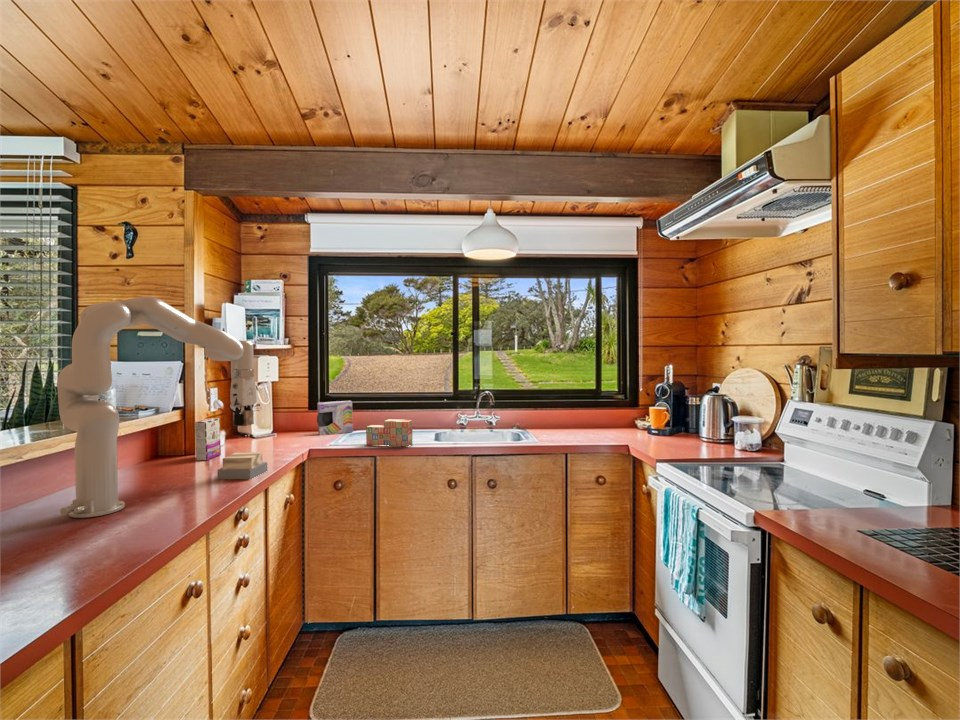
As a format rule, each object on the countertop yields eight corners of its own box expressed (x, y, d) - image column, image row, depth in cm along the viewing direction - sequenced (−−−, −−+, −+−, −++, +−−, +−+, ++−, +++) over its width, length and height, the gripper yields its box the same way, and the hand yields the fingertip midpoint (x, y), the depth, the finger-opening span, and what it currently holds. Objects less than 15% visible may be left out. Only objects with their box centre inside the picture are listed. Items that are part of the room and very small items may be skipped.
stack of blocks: (365, 446, 233) (365, 420, 233) (371, 443, 239) (371, 418, 239) (408, 447, 229) (408, 421, 229) (412, 445, 235) (412, 419, 235)
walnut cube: (246, 426, 176) (246, 412, 176) (232, 425, 176) (232, 412, 176) (253, 423, 181) (253, 410, 181) (240, 423, 181) (240, 410, 181)
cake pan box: (317, 435, 263) (317, 403, 262) (316, 434, 267) (315, 402, 267) (353, 432, 272) (353, 401, 272) (351, 431, 276) (350, 400, 276)
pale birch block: (251, 468, 174) (251, 457, 174) (222, 469, 173) (222, 458, 173) (262, 462, 184) (262, 452, 184) (235, 463, 183) (234, 452, 183)
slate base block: (250, 481, 173) (250, 470, 172) (217, 481, 173) (217, 469, 173) (267, 472, 184) (267, 462, 184) (236, 472, 185) (236, 462, 185)
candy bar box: (209, 455, 215) (209, 418, 214) (221, 455, 215) (220, 418, 214) (194, 461, 203) (194, 421, 203) (206, 461, 203) (206, 421, 203)
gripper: (239, 375, 169) (240, 427, 170) (264, 373, 186) (265, 420, 187) (218, 375, 170) (219, 427, 170) (245, 373, 187) (246, 420, 187)
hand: (243, 423), depth 179 cm, fingers closed on walnut cube, 4 cm apart
